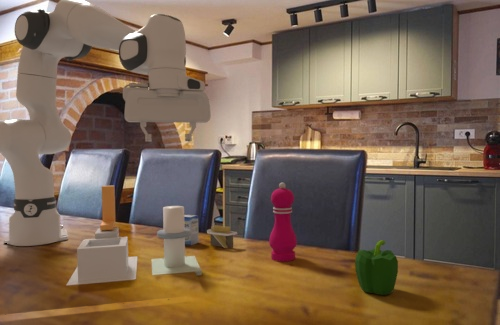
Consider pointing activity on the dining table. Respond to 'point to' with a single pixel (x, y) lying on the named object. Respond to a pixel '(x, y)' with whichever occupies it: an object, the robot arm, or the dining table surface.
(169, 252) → the cartridge
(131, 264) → the housing
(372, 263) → the bell pepper
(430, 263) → the dining table surface
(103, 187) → the release bolt
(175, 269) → the mat
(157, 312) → the dining table surface
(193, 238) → the medicine box
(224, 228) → the butter dish
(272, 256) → the pepper mill
